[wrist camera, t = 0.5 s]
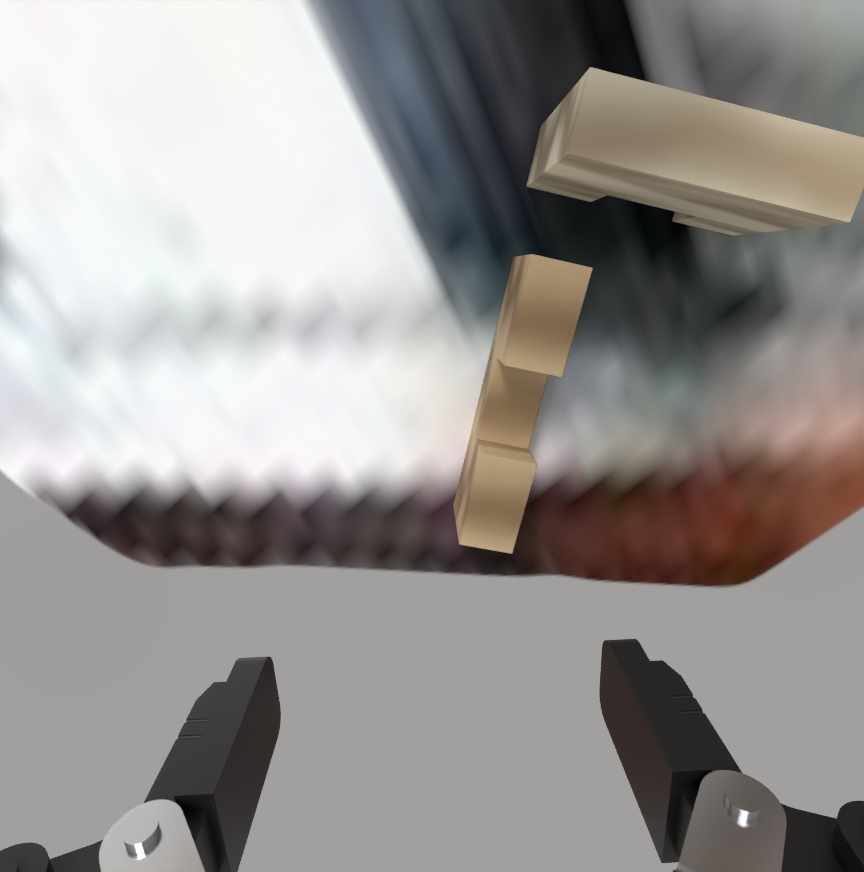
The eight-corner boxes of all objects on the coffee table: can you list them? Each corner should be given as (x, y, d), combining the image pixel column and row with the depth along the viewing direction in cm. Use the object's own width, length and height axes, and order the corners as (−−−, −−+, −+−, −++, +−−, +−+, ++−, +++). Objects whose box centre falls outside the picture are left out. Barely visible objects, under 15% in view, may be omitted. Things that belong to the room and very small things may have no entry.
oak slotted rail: (513, 256, 35) (531, 254, 30) (564, 268, 36) (592, 267, 30) (453, 505, 40) (459, 544, 35) (498, 514, 41) (512, 553, 35)
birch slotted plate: (541, 125, 33) (590, 66, 24) (753, 178, 34) (881, 142, 25) (526, 186, 34) (568, 153, 25) (733, 235, 35) (849, 222, 26)
